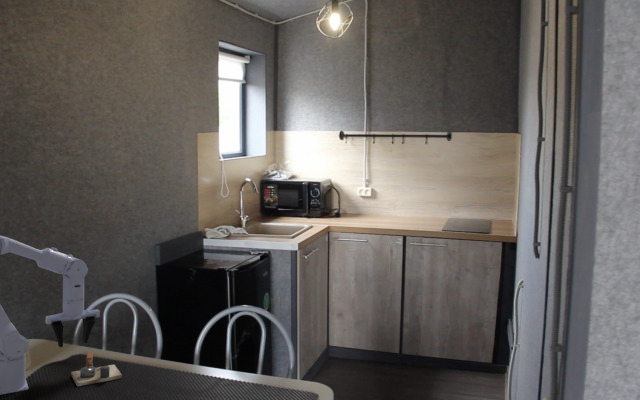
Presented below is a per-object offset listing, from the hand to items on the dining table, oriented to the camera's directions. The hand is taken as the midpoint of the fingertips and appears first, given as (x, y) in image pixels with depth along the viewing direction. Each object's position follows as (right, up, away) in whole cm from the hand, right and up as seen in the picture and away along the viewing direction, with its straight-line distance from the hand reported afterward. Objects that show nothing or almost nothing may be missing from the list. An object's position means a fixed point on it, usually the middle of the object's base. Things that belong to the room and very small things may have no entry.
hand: (73, 344), depth 158 cm
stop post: (+11, -9, -4) cm, 15 cm away
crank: (+5, -7, -1) cm, 9 cm away
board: (+8, -9, -2) cm, 12 cm away
